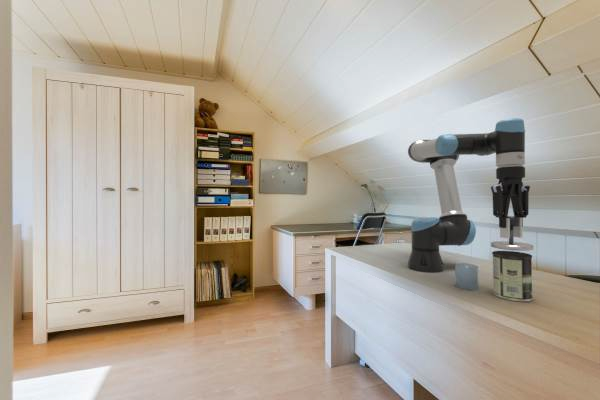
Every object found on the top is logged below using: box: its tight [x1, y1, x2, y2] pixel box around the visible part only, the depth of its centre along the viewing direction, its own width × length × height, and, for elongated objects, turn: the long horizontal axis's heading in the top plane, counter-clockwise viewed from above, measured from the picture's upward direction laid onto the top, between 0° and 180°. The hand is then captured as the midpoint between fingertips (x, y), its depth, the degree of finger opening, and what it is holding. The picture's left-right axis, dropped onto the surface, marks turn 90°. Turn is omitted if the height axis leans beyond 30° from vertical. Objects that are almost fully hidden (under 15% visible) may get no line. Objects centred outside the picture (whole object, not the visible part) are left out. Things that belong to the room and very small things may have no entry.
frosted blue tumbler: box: [454, 262, 479, 292], centre depth 97 cm, size 7×7×8 cm
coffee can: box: [491, 250, 533, 303], centre depth 88 cm, size 10×10×14 cm
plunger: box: [490, 215, 534, 252], centre depth 88 cm, size 11×11×10 cm
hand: (511, 237), depth 88 cm, fingers closed on plunger, 4 cm apart
